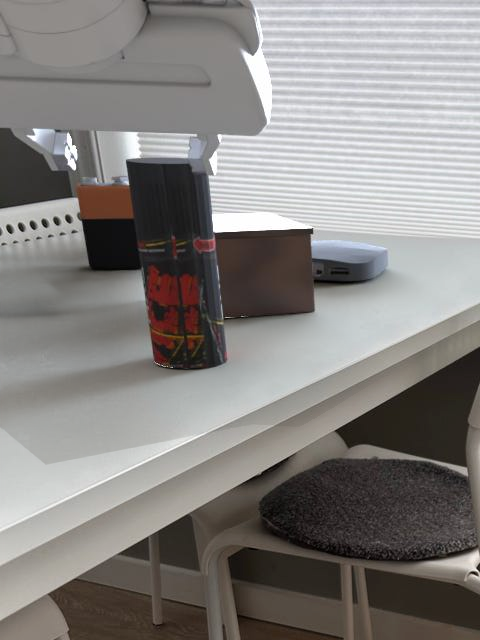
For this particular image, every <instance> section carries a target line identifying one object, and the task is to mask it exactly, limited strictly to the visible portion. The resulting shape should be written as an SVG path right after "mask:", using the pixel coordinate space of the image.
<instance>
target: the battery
mask: <svg viewBox="0 0 480 640" xmlns="http://www.w3.org/2000/svg"><path fill="white" fill-rule="evenodd" d="M81 179H82V182H79V183H77V184H76V185H75V189H76V195H77V201H78V207H79V214H80V219H81V227H82V231H83V237H84V243H85V248H86V254H87V255H86V256H87V259H88V260H87V261H88V266H89V268H90V269H91V270H93V271H101V270H103V271H104V270H135V269H136V270H137V269H139V270H141V265H140V258H139V251H138V244H137V237H136V230H135V222H134V215H133V208H132V201H131V194H130V187H129V180H128V175H111V176H110V179H111V181H113V182H98V180H97V177H96V176H83V177H82V178H81Z"/></svg>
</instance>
